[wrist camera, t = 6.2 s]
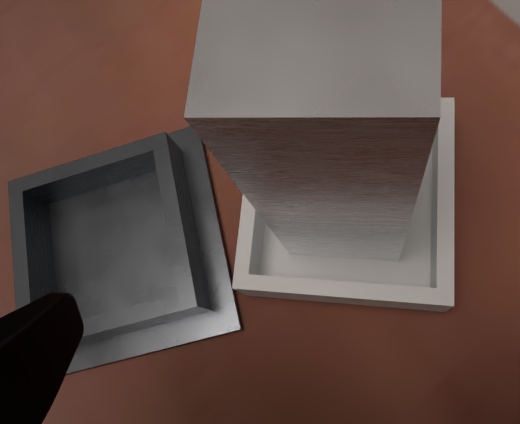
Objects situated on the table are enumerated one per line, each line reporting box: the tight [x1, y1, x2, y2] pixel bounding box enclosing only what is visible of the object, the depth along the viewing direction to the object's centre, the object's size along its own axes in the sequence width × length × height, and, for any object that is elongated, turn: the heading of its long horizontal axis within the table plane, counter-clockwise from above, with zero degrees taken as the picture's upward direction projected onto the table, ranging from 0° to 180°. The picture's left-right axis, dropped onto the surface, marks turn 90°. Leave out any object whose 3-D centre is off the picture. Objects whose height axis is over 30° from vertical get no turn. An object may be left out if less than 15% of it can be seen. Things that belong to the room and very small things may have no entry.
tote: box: [232, 98, 454, 312], centre depth 21 cm, size 8×8×2 cm
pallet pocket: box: [8, 127, 243, 375], centre depth 22 cm, size 10×10×2 cm
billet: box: [184, 0, 442, 262], centre depth 15 cm, size 4×4×13 cm
